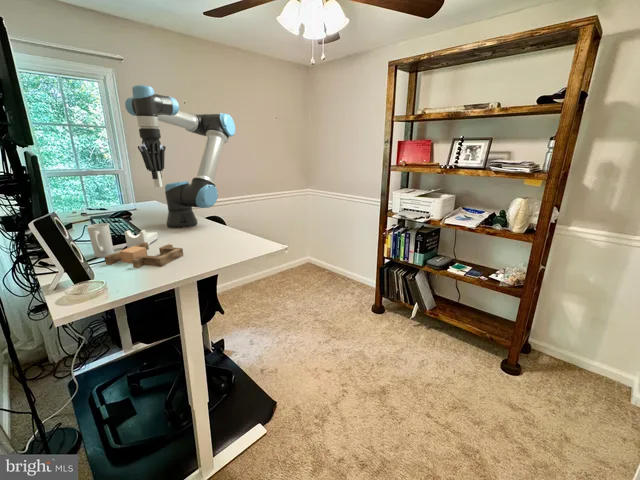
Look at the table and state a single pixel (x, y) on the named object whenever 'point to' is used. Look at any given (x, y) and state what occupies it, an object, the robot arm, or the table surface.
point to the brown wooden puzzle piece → (166, 251)
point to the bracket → (139, 238)
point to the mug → (101, 239)
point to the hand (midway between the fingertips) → (158, 186)
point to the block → (132, 253)
